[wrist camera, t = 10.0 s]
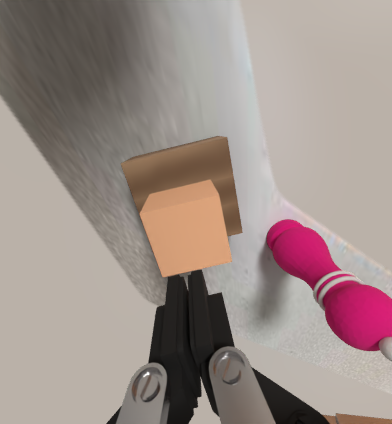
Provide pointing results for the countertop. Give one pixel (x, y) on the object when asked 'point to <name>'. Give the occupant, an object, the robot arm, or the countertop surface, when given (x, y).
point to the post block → (186, 174)
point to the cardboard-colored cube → (186, 228)
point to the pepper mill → (334, 288)
